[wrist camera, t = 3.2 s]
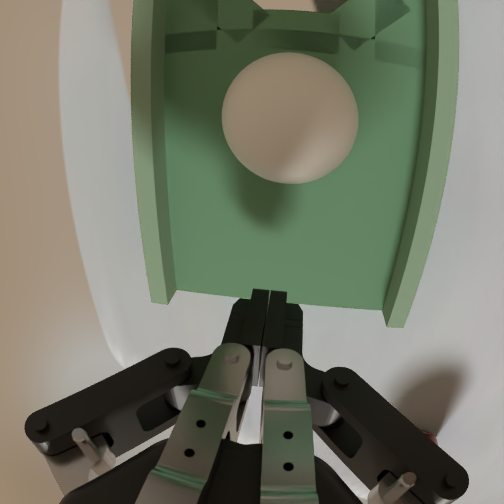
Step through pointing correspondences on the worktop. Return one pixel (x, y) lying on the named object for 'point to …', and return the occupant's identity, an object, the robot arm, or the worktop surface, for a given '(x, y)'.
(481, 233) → the worktop surface
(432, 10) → the putting mat
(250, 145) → the golf ball
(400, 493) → the robot arm
